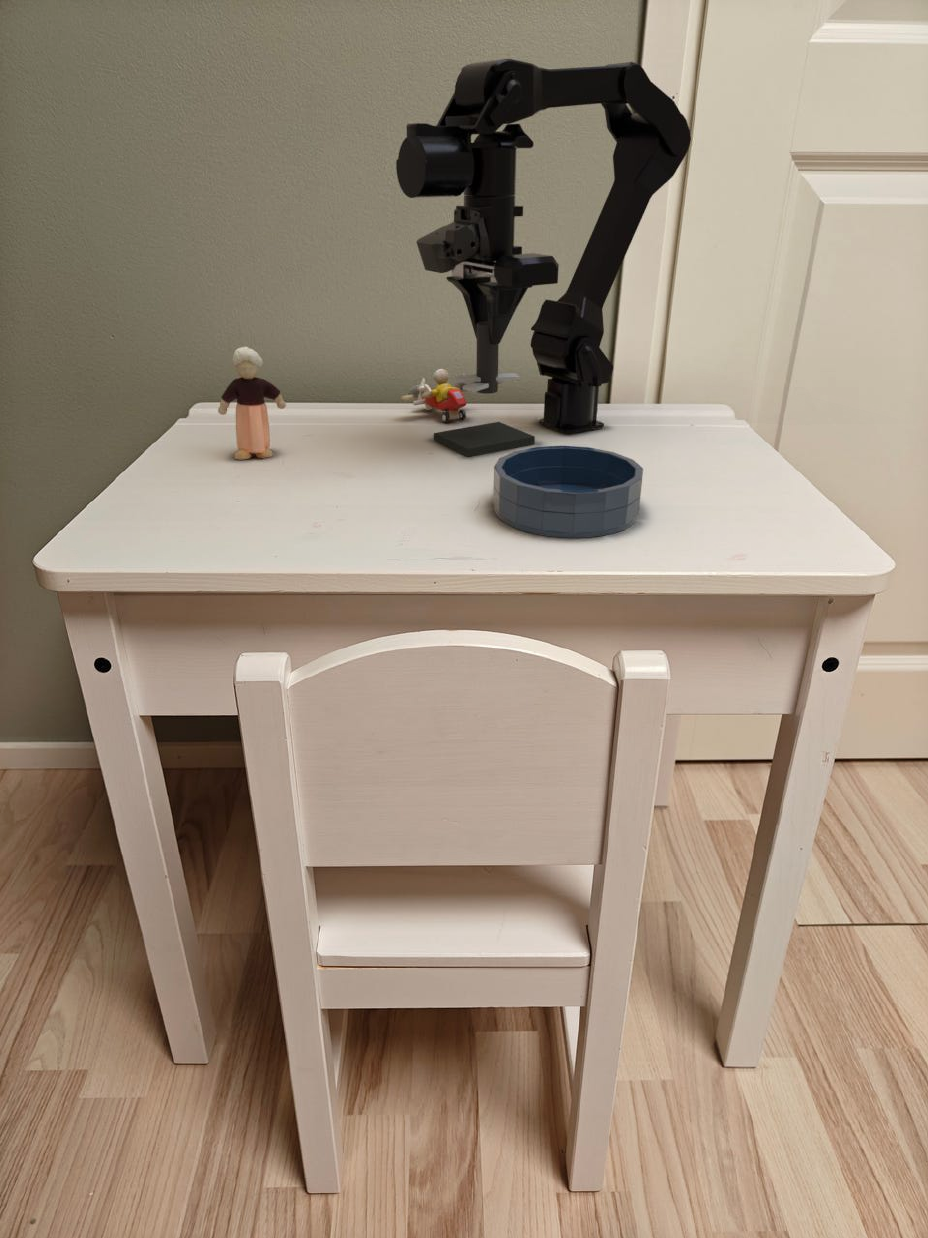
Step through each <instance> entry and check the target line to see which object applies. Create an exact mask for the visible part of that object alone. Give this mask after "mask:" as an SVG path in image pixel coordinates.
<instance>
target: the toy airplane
mask: <svg viewBox="0 0 928 1238" xmlns="http://www.w3.org/2000/svg"><path fill="white" fill-rule="evenodd" d="M461 375H466V373H465V372H462V374H461ZM433 380H434V381H435V382H436V384H437V385H436V387H435V388H434V389H431V387H430V386H429V385H428V384H427V383H426V378H424V377H422V379H421V382H420V384H415V385H413V386H412V387H410V388H409V389H408V392H407V395H402V396H400V401H401V402H406V401H412V405H413V406H421V405H424V407H425V410H426V411H429V410H433V409H436V410H439V411H441V412H442V413H441V420H442V422H443V423H448V422H449V421H450V420H453V419H454V420H455V419H458V418H459V419H460V420H462V421H464V420H465V419H466V418H467V413H466V411H465V408H464V407H466V406H467V401H466V397H465V396H464V394H465V393H470V392H471V391H466V390H463V386H464V385H467V384H470V383H472V382H463V383H457V382H456V383H455V384H454V386H452V385H451V384H450V383H449V382H448V381H449V372H448V371H447V370H446V369H445V368H438V369H437V370H435V371H434V374H433ZM471 393H472V394H475V392H471Z"/></svg>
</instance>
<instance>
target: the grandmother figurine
mask: <svg viewBox="0 0 928 1238" xmlns="http://www.w3.org/2000/svg"><path fill="white" fill-rule="evenodd" d="M232 363H233V367H234V368H235V370H236V372H237V374H238V376H239V377H238V378H235V379H233V380H231V382H230V383H229V385H228V386H227V387H226V389H225V390H224V391H223V394H222V395H221V400H220V403H219V407H218V409H217V413H219V415H221V416H224V415H226V414H227V413H228V408H229V407H230V404H231V403H232V402H234V401H235V400H236V405H235V436H236V448H237V449H238V450H237V451H236V452H235V454H234V456H233V457H234V459H235V460H239V461H240V460H249V459H251V458H252V454H255V457H256V458H259V459H267V458H271V457H273V456H274V453H273V452H272V450H270V449H269V448H270V446H271V433H270V422H269V414H268V406H267V403H266V402H265V398H266V399H269V400H273V402H274V403H275V404H276V407H277V409H280V410H283V409H285V408H286V406H287V402H286V401H285V400H284V397H282V394H281V390H280V389H279V388H278V387H276V386H275V385H274V384H272V382H270V381H268V380H266V379H263V378H261V377H257V376H258V375H259V371H260V369H261V368H262V366H263V364H264V363H263V359H262V357H261V356H260V355H259V353H258V352H257V351H256V350H254V349H253V348H249V347H248V346H241V347H238V348H237V349H235V351H234V353H233V355H232Z"/></svg>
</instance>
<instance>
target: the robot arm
mask: <svg viewBox="0 0 928 1238" xmlns="http://www.w3.org/2000/svg"><path fill="white" fill-rule="evenodd" d="M597 104H598V105H599V104H600V105H601V106H602V108H603V110H604V115H605V122H606V128H607V130H608V132H609V133H610V135H611V136H612V138H613V139H614V141H615V142H616V144H615V147H614V151H613V154H612V164H613V177H614V178H613V183H612V186H611V188H610V190H609V192H608V195H607V197H606V200H605V202H604V204H603V207H602V208H601V211H600V213H599V216H598V218H597V220H596V222H595V225H594V227H593V229H592V232H591V234H590V236H589V238H588V241H587V243H586V246H585V248H584V251H583V252H582V255H581V258H580V260H579V262H578V264H577V267H576V269H575V272H574V274H573V276H572V277H571V281H570V283H569V285H568V287H567V290H566V291H565V293H563V295H562V296H561V297H559V298H558V299H557V300H552V299H545V300H544V301H543V303H542V304H541V307H540V311H539V314H538V317H537V318H536V321H535V323H534V324H532V326H531V327H530V330H531V331H533V333H532V336H531V339H530V348H531V350H532V355H533V357H534V359H535V361H536V365H537V369H538V372H539V375H540V376H542V377H544V376H545V377H549V378H548V379H547V386H546V391H545V393H544V402H543V404H544V405H543V406H544V407H543V417H542V418H539V419H538V424H540V425H542V426H545V427H546V428H547V427H548V428H550V429H552V430H555V431H558V432H559V433H560V432H561V433H563V434H566V435H570V434H575V433H576V434H577V433H581V432H585V431H586V432H587V431H590V430H596V429H601V428H605V423H604V422H602V421H599V420H597V419H598V408H599V407H598V406H599V394H600V393H599V392H600V387H602V385H605V384H608V383H609V382H610V380H611V377H612V373H613V371H614V365H613V364H612V362H611V360H609V358H608V357H607V356H606V354H605V353H604V352H603V350H602V349H601V343H602V341H603V337H604V333H605V327H604V313H603V308H604V305H605V303H606V300H607V298H608V297H609V294H610V291H611V289H612V287H613V284H614V282H615V280H616V278H617V276H618V274H619V271H620V269H621V266H622V264H623V262H624V259H625V258H626V255H627V253H628V250H629V248H630V246H631V244H632V241H633V239H634V237H635V234H636V232H637V230H638V229H639V226H640V224H641V222H642V219H643V216H644V214H645V213H646V210H647V208H648V206H649V203H650V201H651V199H652V197H653V196H654V194H656V193H657V192H658V191H659V190H660V189H662V187H663V186H665V185H666V184H667V183H668V182H669V181H670V180H671V179H672V178H673V177H674V176H675V174H676V172H677V171H678V169H679V167H680V166H681V164H682V162H683V161H684V159H685V158H686V156H687V154H688V152H689V149H690V145H691V141H692V136H691V130H690V127H689V124H688V121H687V119H686V117H685V115H684V114H683V113H682V112H681V111H680V109H679V106H677V105H676V103H675V101H674V99H672V98H671V97H670V96H669V95H667V93H665V92H664V91H663V90H662V89H660V87H659V86H657V85H656V84H654V82H652V81H651V79H650V77H649V76H648V74H647V72H646V71H645V69H644V68H643V67H642V66H641V65H640V64H637V63H636V62H635V61H626V62H617V63H609V64H605V65H598V66H583V67H567V68H564V67H563V68H552V69H549V68H544V67H540V66H539V65H536V64H534V63H532V62H526V61H523V60H518V59H512V58H499V59H494V60H486V61H477V62H476V61H475V62H472V63H468V64H465V65H464V66H463V67H462V68H461V71H460V72H459V74H458V76H457V78H456V82H455V86H454V92H453V93H452V96H451V97H450V99H449V102H448V103H447V104H446V106H445V109H444V110H443V112H442V115H441V116H440V118H439V120H438V122H437V124H436V125H433V124H430V123H427V122H426V123H425V122H414V123H413V122H412V123H407V124H406V127H405V128H406V137H405V138H404V140H403V141H402V142H401V145H400V147H399V151H398V155H397V156H398V157H397V159H396V161H395V170H396V177H397V182H398V184H399V187H400V190H401V191H402V193H403V194H404V196H406V197H408V198H410V199H423V198H425V199H427V198H455V197H459V196H461V195H462V194H463V205H456V206H455V209H454V211H453V222H450V223H448V224H445V225H443V226H441V227H439V228H437V229H435V230H433V231H431V232H429V233H427V234H425V235H423V236H422V237H420V238H418V239H417V240H416V246H417V249H418V252H419V255H420V258H421V259H420V260H421V262H422V264H423V267H424V268H423V269H424V270H425V271H428V272H433V273H438V274H445V273H448V272H451V276H446V277H445V278H446V280H447V282H448V283H451V284H452V285H453V286H454V287H455V288H456V289H458V290H459V292H460V293H461V294H462V297H463V300H464V302H465V305H466V309H467V312H468V315H469V319H470V323H471V326H472V329H473V333H474V336H475V339H476V340H477V322H481V321H488V325H489V336H490V343H491V344H493V345H495V344H499V345H500V344H501V342H502V339H503V337H504V335H505V333H506V331H507V329H508V327H509V326H510V322H511V320H512V318H513V316H514V314H515V312H516V310H517V308H518V307H519V304H520V303H521V301H522V299H523V298H524V296H525V294H526V293H527V291H528V289H531V288H533V286H536V287H537V286H544V285H556V284H558V282H559V265H560V263H558V261H557V260H556V259H555V257H554V256H553V255H549V254H541V253H535V252H532V253H531V252H530V253H523V246H520V245H515V240H516V239H515V237H516V236H515V235H516V218H517V217H524V205H516V198H517V197H516V195H517V194H516V192H517V191H516V190H517V189H516V187H517V186H516V185H517V153H518V151H517V149H533V147H534V141H533V139H531V137H530V136H529V135H528V134H527V133H526V132H525V131H524V130H523V128H522V126H521V123H517V122H519V121H522V120H525V119H528V118H530V117H534V116H535V115H537V114H539V113H540V112H542V111H544V110H547V109H552V108H565V107H574V106H575V107H576V106H585V105H587V106H588V105H597ZM627 104H628V105H627ZM628 106H629V107H630V108H631V110H632V111H634V112H635V113H632V111H631V110H630V108H629V107H628ZM503 125H505V126H504V127H503V129H502V130H501V131H500V130H499V129H500V128H501V127H502V126H503ZM473 135H476V137H475V139H474V141H473V142H472V136H473Z"/></svg>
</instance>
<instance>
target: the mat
mask: <svg viewBox="0 0 928 1238" xmlns="http://www.w3.org/2000/svg"><path fill="white" fill-rule="evenodd" d="M535 441H536V436H535V435H532V434H530V433H527V432H525V431H523V430H521V429H518V428H516V427H513V426H510V425H509V424H505V423H503V422H500V421H494V422H488V423H484V424H477V425H473V426H471V425H470V426H465V427H459V428H455V429H450V430H449V429H448V430H443V431H438V432H434V433H433V442H436V443H438V444H441V445H442V446H444V447H446V448H448V449H451V450H453V451H455V452H456V453H459V454H461V455H463V456H465V457H467V458H469V457H474V456H480V455H485V454H490V453H495V452H500V451H506V450H510V449H515V448H521V447H525V446H532V445H535V444H536V443H535Z"/></svg>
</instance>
